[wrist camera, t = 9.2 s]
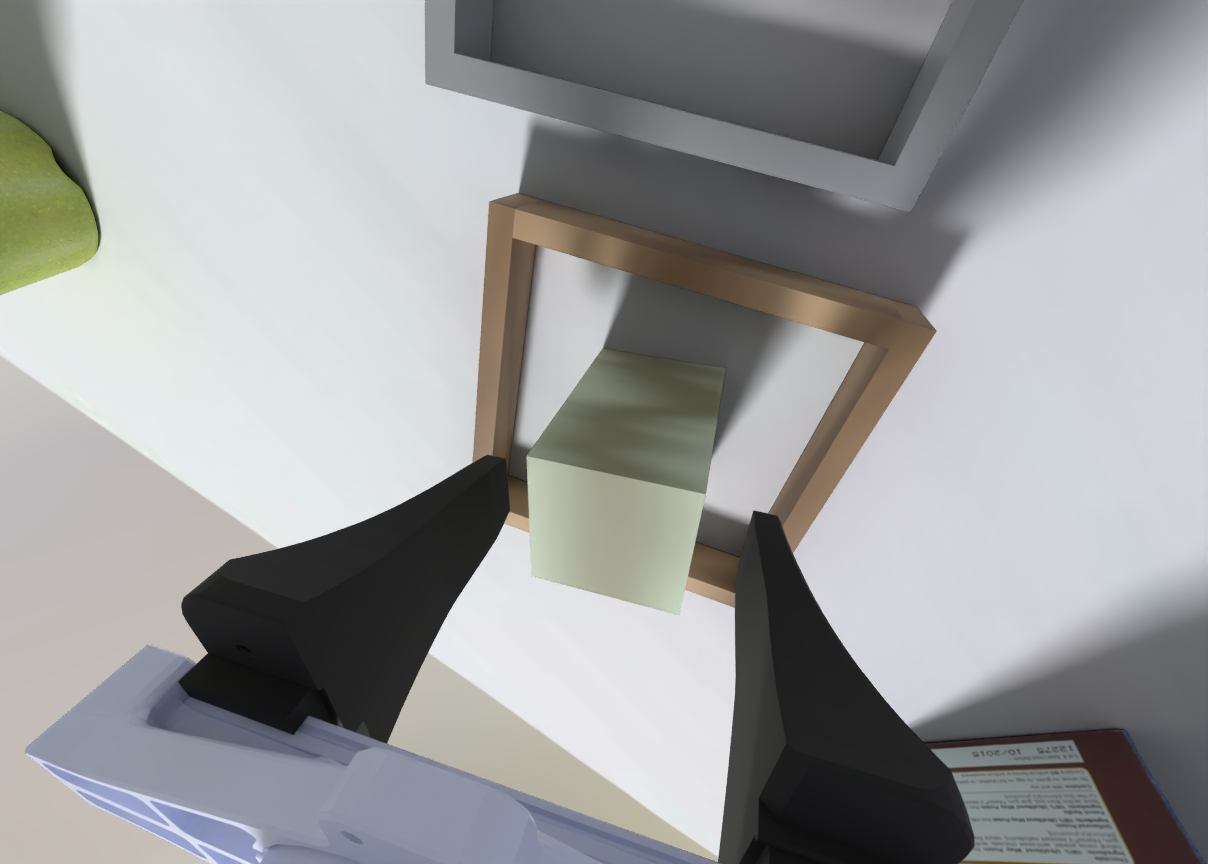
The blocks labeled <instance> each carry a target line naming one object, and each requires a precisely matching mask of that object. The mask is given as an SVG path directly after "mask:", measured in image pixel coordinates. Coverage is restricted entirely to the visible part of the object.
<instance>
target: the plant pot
mask: <svg viewBox="0 0 1208 864" xmlns="http://www.w3.org/2000/svg"><path fill="white" fill-rule="evenodd" d="M97 248H98V231H97V226H96V222H95V218H94V215H93V212H92V209H91V207H90V204H89V202H88V200H87V198H86V196H85V194H84V192H83V190H82V189H81V188H80V187H79V186H78V185H77V184H76V183H75V182H73V181H72V180H71V179H70V178H69V177H68V176H66V175H65V174H64V172H63V171H62V170H61V169H60V167H59V166H58V164H57V163H56V161H55V159H54V157H53V154H52V149H51V147H50V146H49V145H48V144H47V143H46V142H45V141H44V140H43V139H42V138H41V137H40V136H39V135H37V134H36V133H35V132H34V131H33V130H32V129H30V128H29V127H28V126H26V125H25V124H24V123H22V122H21V121H19V120H17V119H16V118H14V117H13V116H11V115H9V114H7V113H5V112H2V111H0V295H2V294H5V293H7V292H10V291H13V290H16V289H18V288H21V287H24V286H26V285H29V284H32V283H35V282H37V281H40V280H43V279H46V278H49V277H51V276H54V275H57V274H60V273H63V272H65V271H68V270H71V269H74V268H76V267H79V266H80V265H82V264H84V263H85V262H86V261H88V260H89V259H91V258H92V257H93V256H94V255H95V253H96V251H97Z"/></svg>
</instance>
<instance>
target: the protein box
mask: <svg viewBox="0 0 1208 864" xmlns="http://www.w3.org/2000/svg"><path fill="white" fill-rule="evenodd" d="M926 745H927V746H928V747H929V748H930V749H931V750H932V752H933V753H934V754H935V755H936V756H937V757H938V758H939V759H940V760H941V761H942V762H943V763H944V764H945V765H946V766H947V767H948V768H949V769H950V770H951V771H952V774H953V777H954V779H955V781H956V784H957V786H958V789H959V791H960V794H961V796H962V799H963V801H964V804H965V807H966V809H967V812H968V816H969V819H970V822H971V826H972V829H973V833H974V837H975V847H974V848H973V849H972V851H971V852H970V853H969V855H968V856H967V857H966V858H965V859H964V860H962V861H961V862H960V863H959V864H1205V863H1204V861H1203V859H1202V858H1201V856H1200V854H1199V853H1198V851H1197V849H1196V848H1195V846H1194V844H1193V843H1192V841H1191V839H1190V838H1189V836H1188V834H1187V833H1186V831H1185V829H1184V828H1183V826H1182V825H1181V823H1180V821H1179V820H1178V818H1177V816H1176V815H1175V813H1174V811H1173V810H1172V808H1171V806H1170V805H1169V803H1168V802H1167V800H1166V798H1165V797H1164V795H1163V793H1162V792H1161V790H1160V789H1159V787H1158V785H1157V784H1156V782H1155V780H1154V778H1153V777H1152V775H1151V773H1150V772H1149V770H1148V768H1147V767H1146V765H1145V763H1144V761H1143V760H1142V758H1141V756H1140V754H1139V753H1138V751H1137V749H1136V747H1135V746H1134V744H1133V742H1132V740H1131V738H1130V736H1129V735H1128V733H1127V732H1126V731H1125V730H1118V729H1114V730H1100V731H1087V732H1073V733H1059V734H1045V735H1033V736H1022V737H1008V738H995V739H981V740H969V741H956V742H940V743H926Z"/></svg>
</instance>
